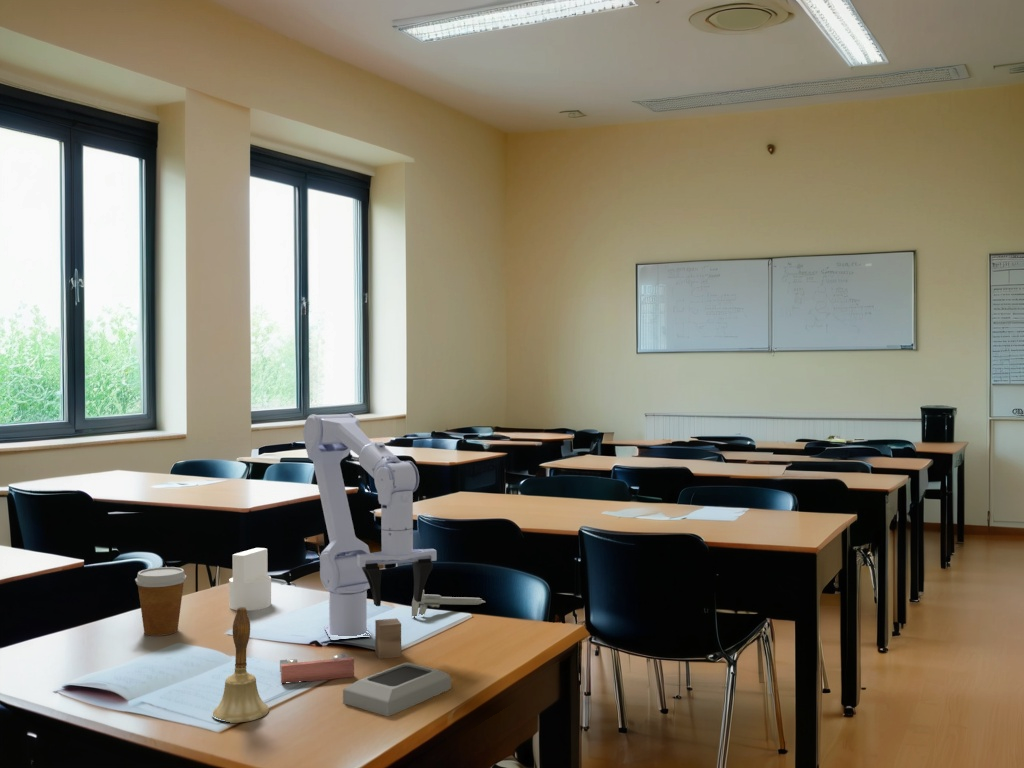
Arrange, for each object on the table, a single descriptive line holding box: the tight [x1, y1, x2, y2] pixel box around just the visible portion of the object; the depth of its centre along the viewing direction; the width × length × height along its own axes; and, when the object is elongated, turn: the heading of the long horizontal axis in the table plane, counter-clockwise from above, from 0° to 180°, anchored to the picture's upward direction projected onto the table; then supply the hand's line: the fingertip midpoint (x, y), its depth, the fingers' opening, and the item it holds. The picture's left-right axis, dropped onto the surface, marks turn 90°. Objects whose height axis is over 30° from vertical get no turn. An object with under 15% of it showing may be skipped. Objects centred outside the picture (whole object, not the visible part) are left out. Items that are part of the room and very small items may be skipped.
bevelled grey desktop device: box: [342, 662, 452, 717], centre depth 148 cm, size 10×4×15 cm
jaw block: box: [374, 617, 402, 659], centre depth 169 cm, size 4×4×6 cm
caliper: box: [411, 589, 486, 617], centre depth 201 cm, size 20×1×6 cm, turn 135°
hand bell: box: [212, 607, 270, 724], centre depth 140 cm, size 8×8×16 cm
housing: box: [279, 653, 355, 684], centre depth 158 cm, size 7×12×3 cm, turn 109°
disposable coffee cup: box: [134, 566, 187, 637], centre depth 184 cm, size 10×10×12 cm
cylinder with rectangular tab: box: [228, 547, 272, 612], centre depth 205 cm, size 9×9×12 cm
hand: (397, 602), depth 168 cm, fingers open, 7 cm apart
